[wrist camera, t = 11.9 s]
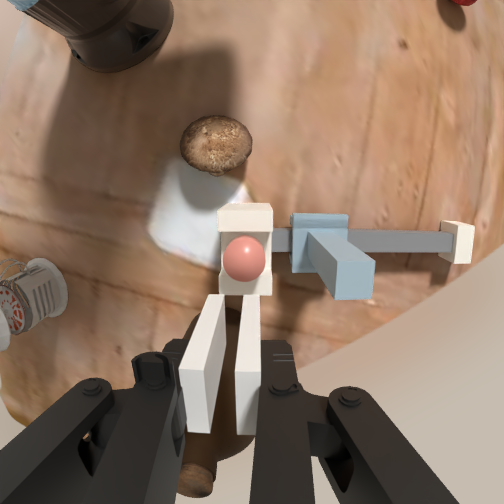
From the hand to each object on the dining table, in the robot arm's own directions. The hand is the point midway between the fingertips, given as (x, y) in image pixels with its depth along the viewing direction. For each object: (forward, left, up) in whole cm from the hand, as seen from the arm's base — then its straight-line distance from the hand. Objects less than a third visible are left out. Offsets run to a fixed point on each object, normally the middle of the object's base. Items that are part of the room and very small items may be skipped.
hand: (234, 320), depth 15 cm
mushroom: (-3, +11, -25) cm, 27 cm away
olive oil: (-3, -14, -25) cm, 29 cm away
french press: (-31, -7, -25) cm, 41 cm away
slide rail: (+15, 0, -24) cm, 28 cm away
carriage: (+8, 0, -23) cm, 24 cm away
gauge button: (0, 0, -14) cm, 14 cm away
